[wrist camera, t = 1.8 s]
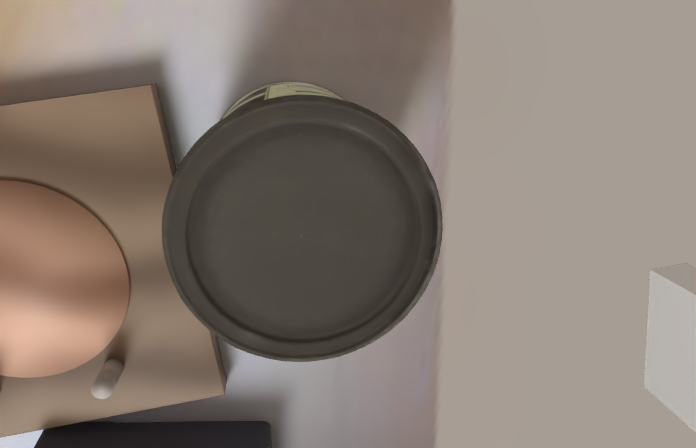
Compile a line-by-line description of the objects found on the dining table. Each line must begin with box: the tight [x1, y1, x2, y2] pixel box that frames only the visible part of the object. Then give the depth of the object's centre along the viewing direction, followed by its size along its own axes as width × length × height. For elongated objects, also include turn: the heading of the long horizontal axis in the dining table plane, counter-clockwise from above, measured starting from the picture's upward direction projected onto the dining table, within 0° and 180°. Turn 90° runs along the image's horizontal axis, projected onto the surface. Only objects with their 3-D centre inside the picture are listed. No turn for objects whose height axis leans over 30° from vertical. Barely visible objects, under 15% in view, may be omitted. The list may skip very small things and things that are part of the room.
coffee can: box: [162, 82, 442, 362], centre depth 26 cm, size 10×10×14 cm
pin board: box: [0, 84, 227, 437], centre depth 30 cm, size 20×20×4 cm
